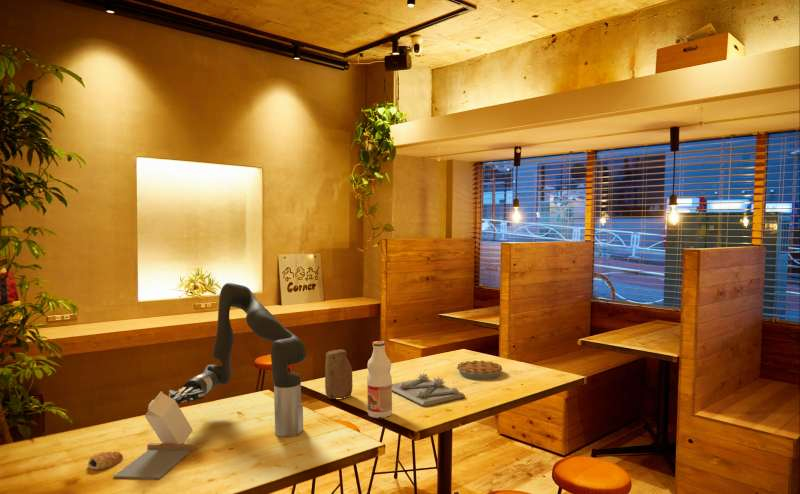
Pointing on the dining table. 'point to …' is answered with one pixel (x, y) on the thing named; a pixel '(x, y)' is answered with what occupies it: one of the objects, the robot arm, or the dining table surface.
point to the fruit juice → (379, 382)
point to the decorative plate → (427, 391)
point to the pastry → (104, 460)
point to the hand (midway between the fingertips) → (173, 402)
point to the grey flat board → (156, 461)
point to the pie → (479, 369)
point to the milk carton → (168, 420)
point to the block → (338, 374)
